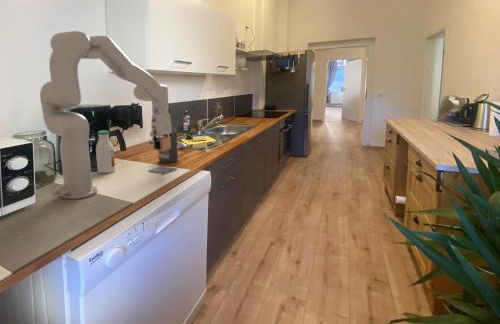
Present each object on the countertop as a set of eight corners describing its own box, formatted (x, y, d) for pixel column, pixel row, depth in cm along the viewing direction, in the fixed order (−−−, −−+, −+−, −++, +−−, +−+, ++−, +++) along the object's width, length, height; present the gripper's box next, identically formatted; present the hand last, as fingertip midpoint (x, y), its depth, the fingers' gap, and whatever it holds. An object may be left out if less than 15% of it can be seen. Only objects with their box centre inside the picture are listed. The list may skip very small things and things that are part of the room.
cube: (162, 150, 149) (162, 138, 148) (153, 149, 151) (152, 137, 150) (170, 148, 154) (170, 136, 153) (161, 147, 157) (160, 135, 155)
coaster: (164, 174, 149) (164, 173, 149) (148, 171, 153) (147, 170, 153) (176, 169, 158) (176, 168, 158) (161, 167, 162) (161, 165, 162)
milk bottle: (108, 174, 146) (105, 132, 141) (94, 172, 148) (90, 131, 143) (118, 170, 154) (115, 130, 149) (104, 168, 155) (101, 129, 150)
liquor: (170, 158, 181) (169, 106, 173) (180, 161, 175) (178, 108, 168) (156, 160, 174) (154, 107, 167) (166, 164, 168) (164, 108, 161)
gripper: (154, 113, 139) (156, 151, 144) (178, 110, 154) (179, 145, 159) (141, 112, 142) (143, 150, 147) (166, 109, 157) (167, 144, 162)
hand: (162, 147), depth 153 cm, fingers closed on cube, 6 cm apart
